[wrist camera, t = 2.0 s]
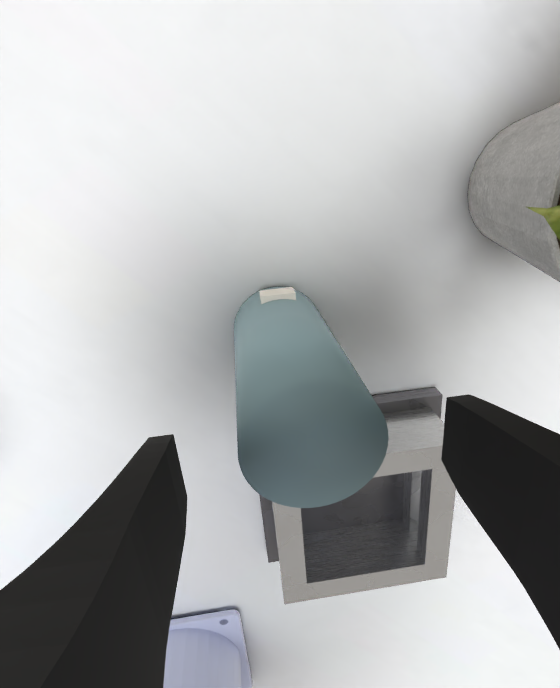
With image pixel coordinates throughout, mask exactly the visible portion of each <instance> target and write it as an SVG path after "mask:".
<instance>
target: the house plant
mask: <svg viewBox="0 0 560 688" xmlns="http://www.w3.org/2000/svg"><path fill="white" fill-rule="evenodd" d="M468 204H469V211H470V214H471V217H472V219H473V222H474V224H475V225H476V227H477V228H478V229H479V231H480V232H481V233H482V234H483V235H484V236H486V237H487V238H489V239H491V240H492V241H494V242H496V243H497V244H499V245H500V246H502V247H504V248H505V249H507V250H509V251H510V252H512V253H513V254H515V255H517V256H518V257H520V258H522V259H523V260H525V261H526V262H528V263H530V264H531V265H533V266H535V267H536V268H538V269H540V270H541V271H543V272H544V273H546V274H548V275H549V276H551V277H553V278H554V279H556V280H557V281H559V282H560V102H559V103H557V104H555V105H552V106H550V107H548V108H546V109H543V110H541V111H539V112H537V113H535V114H532V115H530V116H528V117H526V118H523V119H521V120H519V121H517V122H514V123H513V124H511V125H510V126H508V127H507V128H505V129H503V130H502V131H500V132H499V133H498V134H497V135H496V136H495V137H494V138H493V139H492V140H491V141H490V142H489V143H488V144H487V145H486V147H485V148H484V150H483V151H482V153H481V154H480V156H479V158H478V159H477V161H476V163H475V166H474V169H473V171H472V174H471V176H470V182H469V188H468Z"/></svg>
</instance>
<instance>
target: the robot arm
mask: <svg viewBox="0 0 560 688" xmlns="http://www.w3.org/2000/svg"><path fill="white" fill-rule="evenodd" d="M441 460H442V462H443V464H444V466H445V468H446V470H447V472H448V474H449V476H450V478H451V480H452V482H453V484H454V486H455V487H456V489H457V491H458V493H459V494H460V496H461V497H462V499H463V500H464V502H465V503H466V505H467V506H468V508H469V509H470V510H471V512H472V513H473V515H474V516H475V518H476V519H477V520H478V522H479V523H480V525H481V526H482V528H483V529H484V530H485V532H486V533H487V535H488V536H489V537H490V539H491V540H492V542H493V543H494V544H495V546H496V547H497V549H498V550H499V551H500V553H501V554H502V556H503V557H504V558H505V560H506V561H507V563H508V564H509V565H510V567H511V568H512V570H513V571H514V573H515V574H516V576H517V577H518V579H519V580H520V582H521V583H522V585H523V586H524V588H525V590H526V591H527V593H528V595H529V596H530V598H531V600H532V602H533V603H534V605H535V607H536V608H537V610H538V612H539V614H540V615H541V617H542V619H543V620H544V622H545V624H546V626H547V627H548V629H549V631H550V633H551V634H552V636H553V638H554V640H555V642H556V644H557V645H558V647H559V649H560V434H558V433H555V432H553V431H551V430H549V429H546V428H544V427H542V426H540V425H537V424H535V423H533V422H531V421H529V420H526V419H524V418H522V417H520V416H518V415H515V414H513V413H511V412H509V411H507V410H505V409H502V408H500V407H498V406H496V405H494V404H491V403H489V402H487V401H484V400H482V399H479V398H477V397H474V396H471V395H462V396H455V397H447V401H446V412H445V423H444V435H443V446H442V457H441ZM186 513H187V494H186V489H185V485H184V480H183V476H182V471H181V467H180V462H179V458H178V453H177V449H176V444H175V440H174V435H173V434H172V435H164V436H157V437H150V438H148V439H147V441H146V442H145V443H144V444H143V445H142V446H141V448H140V449H139V450H138V451H137V453H136V454H135V455H134V456H133V457H132V459H131V460H130V461H129V462H128V464H127V465H126V466H125V467H124V469H123V470H122V471H121V472H120V473H119V475H118V476H117V477H116V478H115V479H114V481H113V482H112V483H111V484H110V485H109V486H108V488H107V489H106V490H105V491H104V492H103V493H102V495H101V496H100V497H99V498H98V499H97V500H96V501H95V502H94V503H93V504H92V506H91V507H90V508H89V509H88V510H87V511H86V512H85V513H84V514H83V515H82V516H81V517H80V518H79V520H78V521H77V522H76V523H75V524H74V525H73V526H72V527H71V528H70V529H69V530H68V531H67V532H66V533H65V534H64V535H63V536H62V537H61V538H60V539H59V540H58V541H57V542H56V543H55V544H54V545H52V546H51V547H50V548H49V549H48V550H47V551H46V552H45V553H44V554H43V555H41V556H40V557H39V558H38V559H37V560H36V561H35V562H34V563H33V564H32V565H30V566H29V567H28V568H27V569H26V570H25V571H24V572H22V573H21V574H20V575H19V576H17V577H16V578H15V579H14V580H12V581H11V582H10V583H9V584H8V585H6V586H5V587H4V588H3V589H1V590H0V688H252V677H251V672H250V666H249V661H248V655H247V650H246V644H245V639H244V633H243V628H242V623H241V617H240V613H239V612H238V611H237V610H226V611H220V612H214V613H208V614H202V615H196V616H190V617H184V618H178V619H172V620H171V615H172V610H173V604H174V598H175V592H176V587H177V581H178V575H179V569H180V564H181V558H182V552H183V546H184V540H185V531H186Z"/></svg>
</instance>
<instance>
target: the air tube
mask: <svg viewBox="0 0 560 688" xmlns="http://www.w3.org/2000/svg"><path fill="white" fill-rule="evenodd" d="M234 344H235V377H236V409H237V441H238V460H239V464H240V468H241V471H242V473H243V475H244V477H245V479H246V480H247V482H248V483H249V484H250V485H251V487H252V488H253V489H254V490H255V491H257V492H258V493H259V494H260V495H262V496H263V497H265V498H266V499H268V500H270V501H272V502H275V503H278V504H280V505H284V506H289V507H295V508H314V507H321V506H326V505H330V504H333V503H336V502H338V501H341V500H343V499H345V498H347V497H349V496H351V495H353V494H354V493H356V492H357V491H359V490H360V489H361V488H362V487H364V486H365V485H366V484H367V483H368V482H369V481H370V480H371V479H372V478H373V477H374V475H375V474H376V473H377V471H378V470H379V468H380V466H381V464H382V463H383V460H384V458H385V455H386V452H387V448H388V439H389V437H388V428H387V423H386V420H385V418H384V415H383V413H382V412H381V410H380V408H379V407H378V405H377V404H376V402H375V400H374V399H373V397H372V396H371V394H370V392H369V391H368V389H367V388H366V386H365V385H364V383H363V381H362V380H361V378H360V377H359V375H358V373H357V372H356V370H355V369H354V367H353V366H352V364H351V362H350V361H349V359H348V358H347V356H346V355H345V353H344V351H343V350H342V348H341V347H340V345H339V343H338V342H337V340H336V339H335V337H334V336H333V334H332V332H331V331H330V329H329V328H328V326H327V325H326V323H325V321H324V320H323V318H322V317H321V315H320V313H319V312H318V310H317V309H316V307H315V306H314V304H313V303H312V301H311V300H310V299H309V298H308V297H307V296H305V295H304V294H303V293H301V292H299V291H297V290H295V289H293V287H270V288H266V289H263V290H259V291H258V292H256V293H255V294H253V295H252V296H250V297H249V298H248V299H247V300H246V301H245V302H244V303H243V304H242V306H241V307H240V309H239V311H238V313H237V315H236V318H235V323H234Z"/></svg>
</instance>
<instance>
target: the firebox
mask: <svg viewBox="0 0 560 688" xmlns="http://www.w3.org/2000/svg"><path fill="white" fill-rule="evenodd" d="M372 397H373V399H374V400H375V402H376V404H377V405H378V407H379V408H380V410H381V412H382V413H383V415H384V418H385V420H386V423H387V428H388V437H389V439H388V448H387V452H386V455H385V458H384V460H383V463H382V464H381V466H380V468H379V470H378V471H377V473H376V474H375V475H374V477H373V478H372V479H371V480H370V481H369V482H368V483H367V484H366V485H365V486H364V487H362V488H361V489H360V490H359V491H357V492H356V493H354V494H353V495H351V496H349V497H347V498H345V499H343V500H341V501H338V502H336V503H333V504H330V505H326V506H321V507H314V508H295V507H289V506H284V505H280V504H278V503H275V502H272V501H270V500H268V499H266V498H265V497H263V496H262V495H260V502H261V509H262V517H263V524H264V532H265V539H266V547H267V554H268V562H275V561H279V564H280V572H281V580H282V588H283V595H284V603H285V604H288V603H294V602H300V601H306V600H312V599H318V598H324V597H330V596H336V595H342V594H348V593H354V592H360V591H366V590H372V589H378V588H384V587H390V586H396V585H402V584H408V583H414V582H420V581H426V580H432V579H438V578H444V577H446V575H447V565H448V556H449V547H450V537H451V528H452V519H453V509H454V500H455V491H456V487H455V486H454V484H453V482H452V480H451V478H450V476H449V474H448V472H447V470H446V468H445V466H444V464H443V462H442V460H441V457H442V446H443V435H444V423H443V422H442V420H441V419H440V417H441V405H442V394H441V393H440V392H439V391H438V390H437V389H436V388H435V387H433V388H425V389H417V390H410V391H402V392H395V393H387V394H380V395H372Z"/></svg>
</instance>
